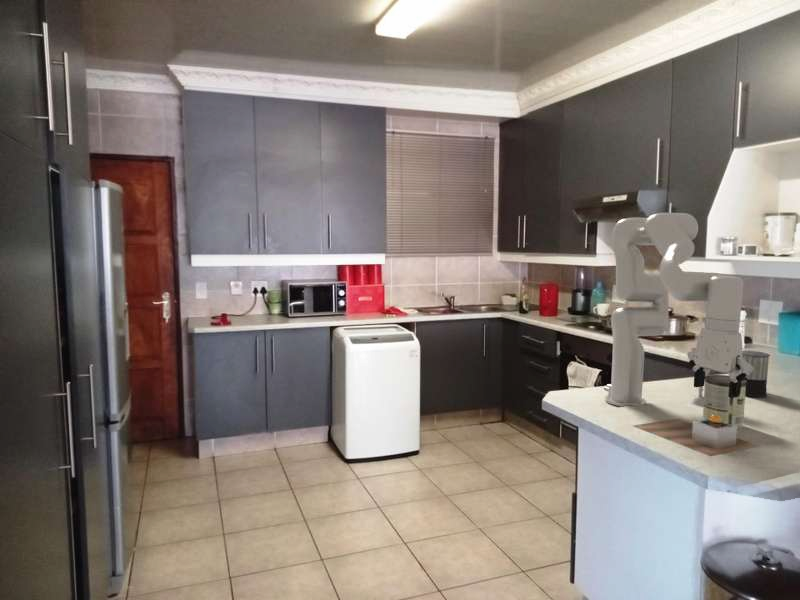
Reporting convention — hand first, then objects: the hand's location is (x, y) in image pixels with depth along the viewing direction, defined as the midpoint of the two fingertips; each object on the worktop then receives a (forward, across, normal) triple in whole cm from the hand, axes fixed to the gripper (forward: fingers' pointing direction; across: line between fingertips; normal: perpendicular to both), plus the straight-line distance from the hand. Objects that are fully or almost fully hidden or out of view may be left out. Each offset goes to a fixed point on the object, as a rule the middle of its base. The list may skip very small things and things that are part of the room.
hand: (715, 391), depth 142 cm
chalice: (+16, -29, +33) cm, 47 cm away
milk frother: (+16, -34, +59) cm, 70 cm away
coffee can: (+15, -10, +18) cm, 25 cm away
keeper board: (+15, -5, 0) cm, 16 cm away
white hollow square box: (+13, +1, 0) cm, 13 cm away
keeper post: (+13, +1, 0) cm, 13 cm away
